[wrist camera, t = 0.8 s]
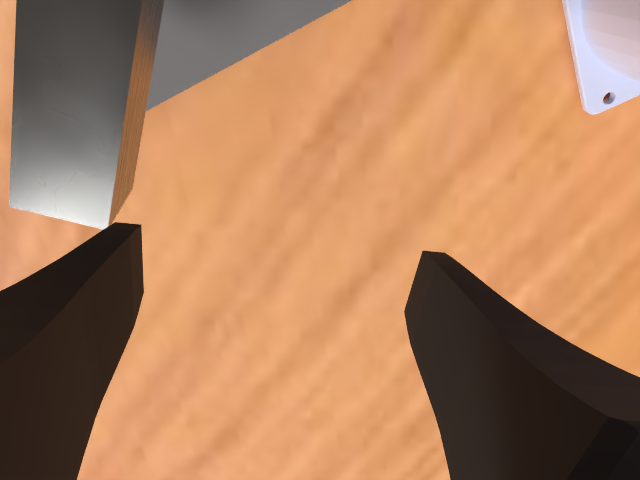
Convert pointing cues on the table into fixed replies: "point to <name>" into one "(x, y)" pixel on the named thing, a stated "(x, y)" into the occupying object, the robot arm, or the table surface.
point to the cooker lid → (80, 104)
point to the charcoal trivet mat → (220, 37)
